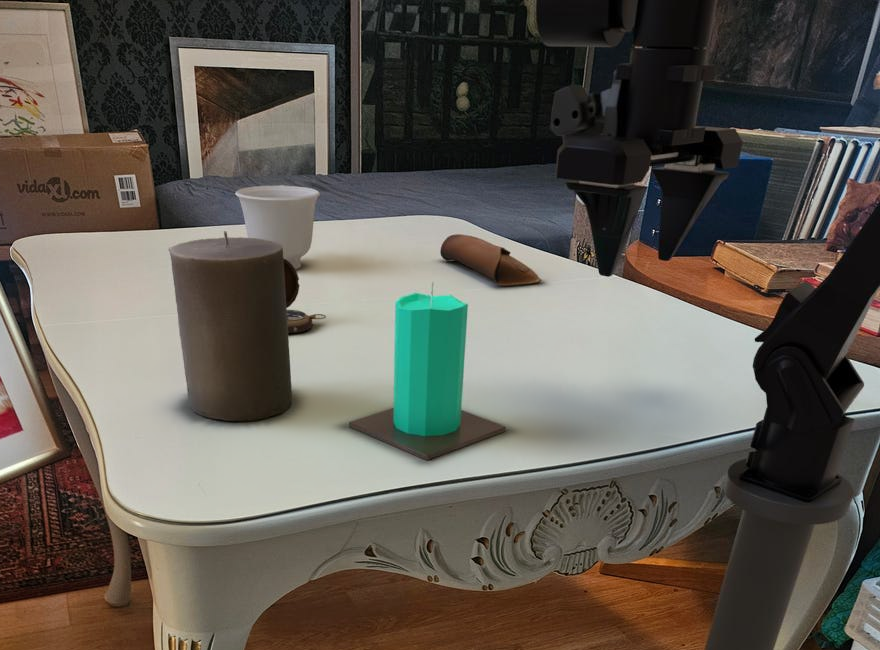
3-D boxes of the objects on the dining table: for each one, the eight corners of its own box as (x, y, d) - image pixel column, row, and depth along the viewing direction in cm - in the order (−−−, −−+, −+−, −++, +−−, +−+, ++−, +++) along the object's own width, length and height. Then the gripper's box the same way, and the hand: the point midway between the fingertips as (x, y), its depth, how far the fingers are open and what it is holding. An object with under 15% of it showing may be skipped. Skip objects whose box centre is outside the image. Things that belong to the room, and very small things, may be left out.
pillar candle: (297, 419, 79) (289, 240, 70) (188, 425, 77) (165, 243, 68) (286, 383, 86) (277, 219, 78) (186, 388, 85) (166, 220, 76)
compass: (270, 337, 99) (266, 270, 95) (250, 319, 105) (245, 255, 101) (335, 330, 102) (333, 264, 98) (311, 313, 108) (309, 250, 104)
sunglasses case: (546, 279, 123) (529, 237, 119) (507, 309, 123) (489, 268, 119) (487, 254, 137) (470, 215, 132) (451, 281, 137) (433, 243, 132)
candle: (459, 437, 75) (468, 292, 68) (390, 434, 75) (392, 289, 68) (460, 412, 80) (469, 274, 73) (396, 409, 80) (398, 272, 73)
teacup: (324, 254, 136) (322, 183, 131) (320, 276, 124) (317, 198, 119) (248, 253, 136) (242, 182, 130) (236, 274, 124) (229, 197, 118)
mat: (506, 430, 77) (506, 426, 77) (427, 460, 72) (427, 456, 71) (427, 401, 83) (427, 397, 83) (348, 426, 77) (348, 422, 77)
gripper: (644, 47, 76) (617, 240, 85) (509, 46, 65) (494, 268, 74) (765, 49, 69) (721, 258, 78) (637, 48, 58) (604, 291, 67)
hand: (635, 267), depth 74 cm, fingers open, 9 cm apart
